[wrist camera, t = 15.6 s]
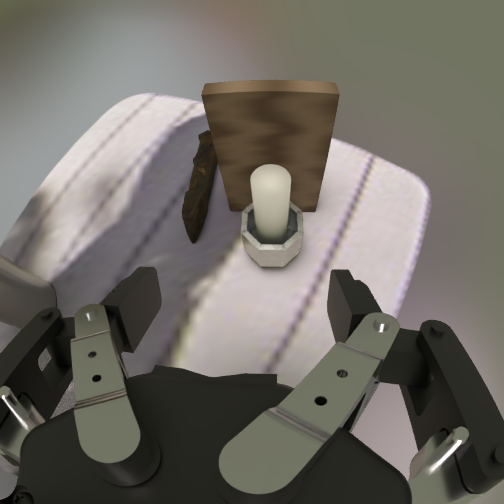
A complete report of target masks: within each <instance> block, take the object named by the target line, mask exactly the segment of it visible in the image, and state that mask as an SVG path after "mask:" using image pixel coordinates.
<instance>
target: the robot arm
mask: <svg viewBox="0 0 504 504" xmlns="http://www.w3.org/2000/svg"><path fill="white" fill-rule="evenodd" d="M161 302H162V298H161V292H160V287H159V282H158V276H157V271H156V269H155V268H154V267H138V268H137V269H136V270H135V271H134V272H133V273H132V274H131V276H129V277H127V278H125V279H124V280H122V281H121V282H120V283H119V284H118V285H117V286H116V288H114V289H113V290H112V292H110V293H109V294H108V295H107V296H106V297H105V298H104V300H103V301H102V302H101V303H100V304H90V305H86V306H84V307H82V308H80V309H79V310H78V311H77V312H76V313H75V317H70V318H63V317H62V314H61V312H60V310H59V309H58V308H56V295H55V291H54V288H53V287H52V285H51V284H50V283H49V282H47V281H45V280H43V279H42V278H40V277H38V276H36V275H34V274H33V273H31V272H29V271H28V270H26V269H24V268H22V267H21V266H19V265H17V264H15V263H14V262H12V261H10V260H9V259H7V258H6V257H4V256H2V255H1V254H0V321H1V322H3V323H6V324H9V325H12V326H15V327H18V328H21V329H22V330H21V331H20V332H19V333H18V334H17V335H16V337H15V338H14V339H13V340H12V341H11V342H10V343H9V344H8V345H7V347H6V348H5V349H4V350H3V351H2V352H1V353H0V454H1V455H2V456H3V457H4V458H5V459H6V460H7V461H8V462H10V463H11V464H12V465H14V466H19V474H18V479H17V484H16V487H15V489H14V491H13V493H12V494H11V495H10V496H8V497H7V498H5V499H2V500H0V504H469V503H470V502H472V501H473V500H475V499H477V498H478V497H480V496H481V495H483V494H484V493H486V492H487V491H488V490H490V489H491V488H493V487H494V486H495V485H497V484H498V483H499V482H501V481H502V480H503V479H504V420H503V418H502V416H501V414H500V412H499V410H498V408H497V406H496V403H495V402H494V400H493V398H492V396H491V394H490V392H489V390H488V388H487V386H486V384H485V383H484V381H483V379H482V377H481V375H480V374H479V372H478V370H477V369H476V367H475V365H474V363H473V362H472V360H471V358H470V357H469V355H468V354H467V352H466V351H465V349H464V347H463V346H462V344H461V342H460V341H459V340H458V338H457V336H456V335H455V333H454V332H453V330H452V329H451V328H450V327H449V326H448V325H447V324H445V323H443V322H441V321H437V320H427V321H425V322H423V323H422V325H421V327H420V330H419V331H414V330H407V329H402V328H400V324H399V322H398V321H397V319H395V318H394V317H393V316H391V315H388V314H385V313H383V312H382V311H381V309H380V307H379V305H378V303H377V302H376V300H375V299H374V296H373V295H372V293H371V291H370V290H369V288H368V286H367V285H366V284H364V283H363V282H361V281H360V280H354V279H353V277H352V275H351V273H350V271H349V270H348V269H347V270H332V271H331V275H330V283H329V292H328V300H327V312H328V316H329V320H330V323H331V327H332V331H333V334H334V338H335V342H336V344H335V345H334V346H333V347H332V348H331V349H330V351H329V352H328V353H327V354H326V355H325V356H324V358H323V359H322V360H321V361H320V362H319V363H318V364H317V365H316V366H315V368H314V369H313V370H312V371H311V372H310V373H309V374H308V375H307V376H306V377H305V378H304V379H303V381H302V382H301V383H300V384H299V385H298V386H297V387H296V388H295V389H294V388H292V387H289V386H286V385H283V384H278V383H277V374H247V373H245V374H238V375H230V376H221V377H208V376H205V375H201V374H198V373H195V372H192V371H189V370H185V369H182V368H173V367H166V366H158V365H155V367H154V369H153V371H152V373H148V374H141V375H137V376H134V377H130V378H129V376H128V373H127V370H126V367H125V364H124V361H123V358H122V356H121V353H122V352H123V351H124V352H130V353H134V351H135V349H136V348H137V346H138V344H139V343H140V341H141V339H142V338H143V336H144V334H145V333H146V331H147V329H148V328H149V326H150V324H151V323H152V321H153V319H154V318H155V316H156V315H157V313H158V311H159V310H160V307H161ZM45 348H47V350H48V352H49V354H50V355H51V357H52V359H51V360H50V361H49V363H48V364H47V366H46V367H45V368H44V370H43V371H41V370H40V368H39V365H38V358H39V356H40V354H41V353H42V352H43V351H44V349H45ZM73 379H74V387H75V395H76V405H75V406H74V407H73V408H71V409H70V410H68V411H66V412H64V413H62V414H60V415H58V416H56V417H54V418H52V419H50V417H51V416H52V414H53V412H54V410H55V408H56V407H57V405H58V403H59V401H60V400H61V398H62V396H63V395H64V393H65V391H66V389H67V388H68V386H69V384H70V383H71V381H72V380H73ZM380 382H384V383H391V384H399V386H400V389H401V392H402V395H403V398H404V401H405V405H406V408H407V411H408V415H409V418H410V422H411V425H412V429H413V433H414V436H415V440H416V444H417V448H418V453H417V454H416V455H415V456H414V458H413V459H412V461H411V463H410V475H409V479H408V481H407V480H406V478H405V477H404V476H403V475H402V473H400V471H398V470H397V469H396V468H395V467H393V466H392V465H391V464H389V463H388V462H387V461H385V460H384V459H383V458H382V457H380V456H379V455H378V454H376V453H375V452H374V451H372V450H371V449H370V448H369V447H368V446H366V445H365V444H364V443H363V442H361V441H360V440H359V439H358V438H356V437H355V436H354V435H353V434H351V432H352V430H353V429H354V427H355V425H356V423H357V421H358V420H359V418H360V416H361V414H362V413H363V411H364V409H365V408H366V406H367V405H368V403H369V401H370V399H371V398H372V396H373V394H374V393H375V391H376V389H377V387H378V385H379V384H380ZM49 419H50V420H49Z"/></svg>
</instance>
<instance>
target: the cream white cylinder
mask: <svg viewBox="0 0 504 504" xmlns="http://www.w3.org/2000/svg"><path fill="white" fill-rule="evenodd" d="M250 182H251V190H252V198H253V206H254V215H255V223H256V231H257V240H258V242H259V243H260V244H268V245H283V244H284V243H285V242H286V236H287V225H288V213H289V201H290V189H291V176H290V174H289V172H288V171H287V170H286V169H285V168H283V167H281V166H279V165H274V164H267V165H263V166H260V167H258V168H257V169H256V170H255V171H254V172H253V173H252V175H251V179H250Z"/></svg>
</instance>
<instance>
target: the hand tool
mask: <svg viewBox="0 0 504 504" xmlns="http://www.w3.org/2000/svg"><path fill="white" fill-rule="evenodd" d="M199 140H200V144H199V148H198V152H197V154H196V156H195V157H194V158H193V163H194V168H193V172H192V176H191V180H190V185H189V190H188V191H187V192H186V193H185V197H184V204H183V208H182V218H183V221H184V225H185V228H186V231H187V234H188V236H189V238H190V240H191V242H192V243H193V242H194V241H195V240H196V239H197V237H198V235H199V232H200V230H201V228H202V226H203V222H204V219H205V217H206V214H207V201H208V196H209V192H210V188H211V184H212V180H213V174H214V170H215V166H216V163H217V156H216V152H215V148H214V144H213V140H212V136H211V132H210V131H209V130H207V131H205V132H203V133H201V134H199Z"/></svg>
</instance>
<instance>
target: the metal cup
mask: <svg viewBox="0 0 504 504" xmlns="http://www.w3.org/2000/svg"><path fill="white" fill-rule="evenodd" d="M241 235H242V239H243V244H244V248H245V251H246V252H247V253H248V254H249V255H250V256H251V257H252V258H253V259H254V260H255V261H256V262H257V263H258V264H259V265H260V266H269V267H284V266H285V265H286V264H287V263H288V262H289V261H290V260H291V259H292V258H294V257H295V256H296V255H297V254H298V253H299V252H300V248H301V243H302V238H303V214H302V211H301V210H300V209H299V208H298V207H297V206H295V205H294V204H293V203H292V202H291V201H289V213H288V225H287V236H286V242H285V243H284V244H283V245H268V244H260V243H259V242H258V240H257V231H256V223H255V215H254V206H253V203H252V204H250V205H249V206H248V207H247V208H245V209H244V210H243V212H242V226H241Z"/></svg>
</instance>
